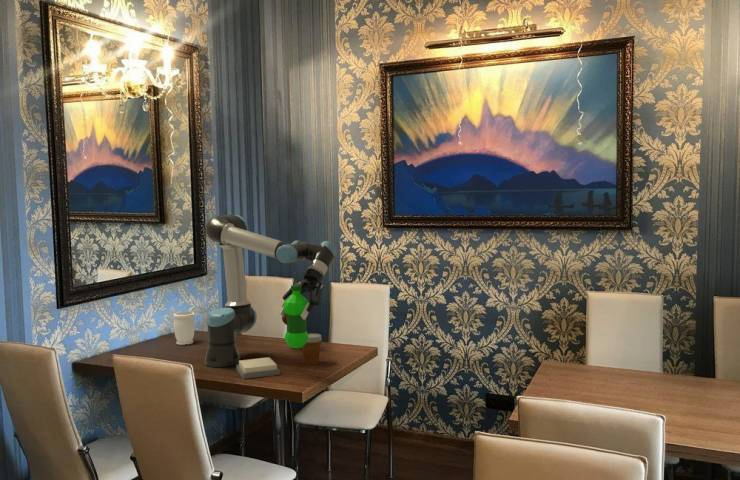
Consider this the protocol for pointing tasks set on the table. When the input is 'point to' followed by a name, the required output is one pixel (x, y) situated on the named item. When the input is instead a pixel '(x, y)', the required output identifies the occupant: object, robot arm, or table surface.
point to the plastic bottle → (295, 318)
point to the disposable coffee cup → (312, 349)
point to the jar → (184, 327)
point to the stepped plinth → (257, 374)
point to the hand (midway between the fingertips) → (292, 316)
